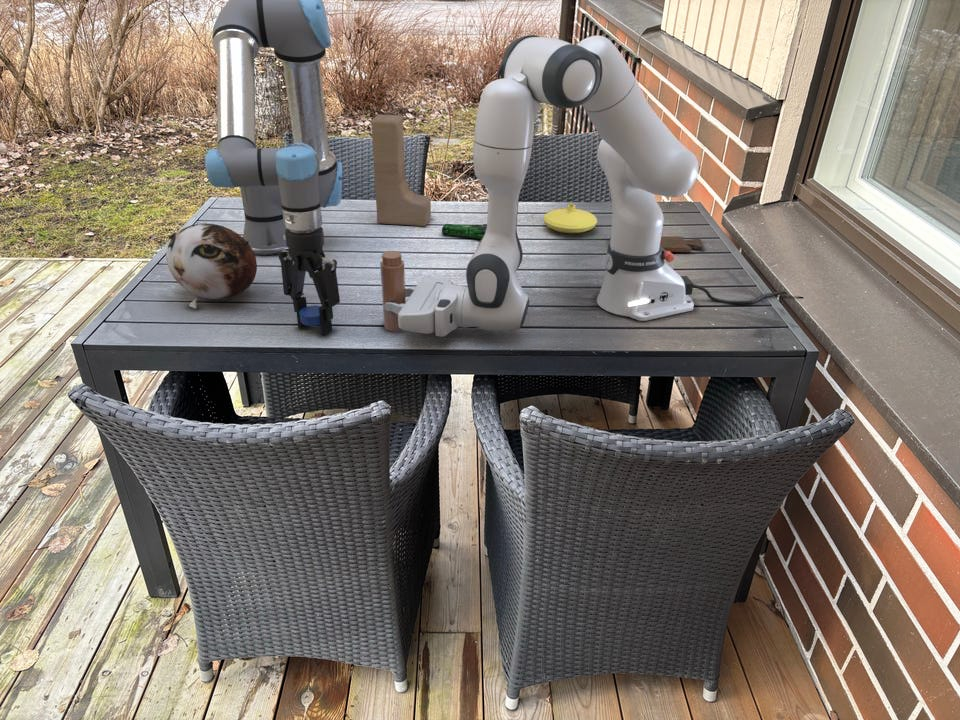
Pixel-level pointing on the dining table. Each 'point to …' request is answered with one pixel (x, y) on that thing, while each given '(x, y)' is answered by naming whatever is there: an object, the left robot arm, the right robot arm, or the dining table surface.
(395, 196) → the decorative block
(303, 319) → the lid
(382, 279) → the jar
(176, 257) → the brown and white balloon
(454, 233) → the handgun
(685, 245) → the wooden paddle board
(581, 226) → the yellow knobbed disc
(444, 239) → the dining table surface
